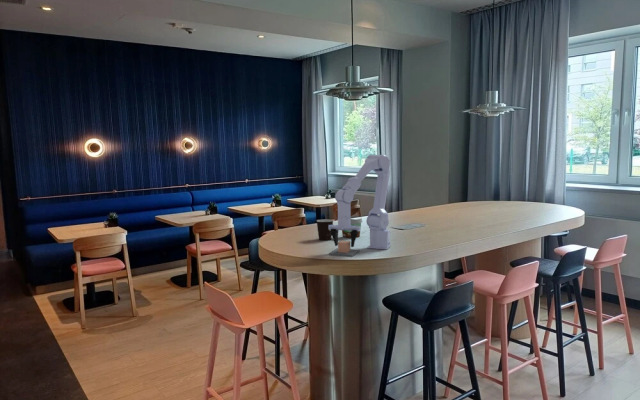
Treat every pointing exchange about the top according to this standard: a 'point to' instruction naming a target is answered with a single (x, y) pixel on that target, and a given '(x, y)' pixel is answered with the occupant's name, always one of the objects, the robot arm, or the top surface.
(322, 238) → the coffee mug
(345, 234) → the food container
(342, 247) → the cube
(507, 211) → the top surface
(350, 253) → the mat
